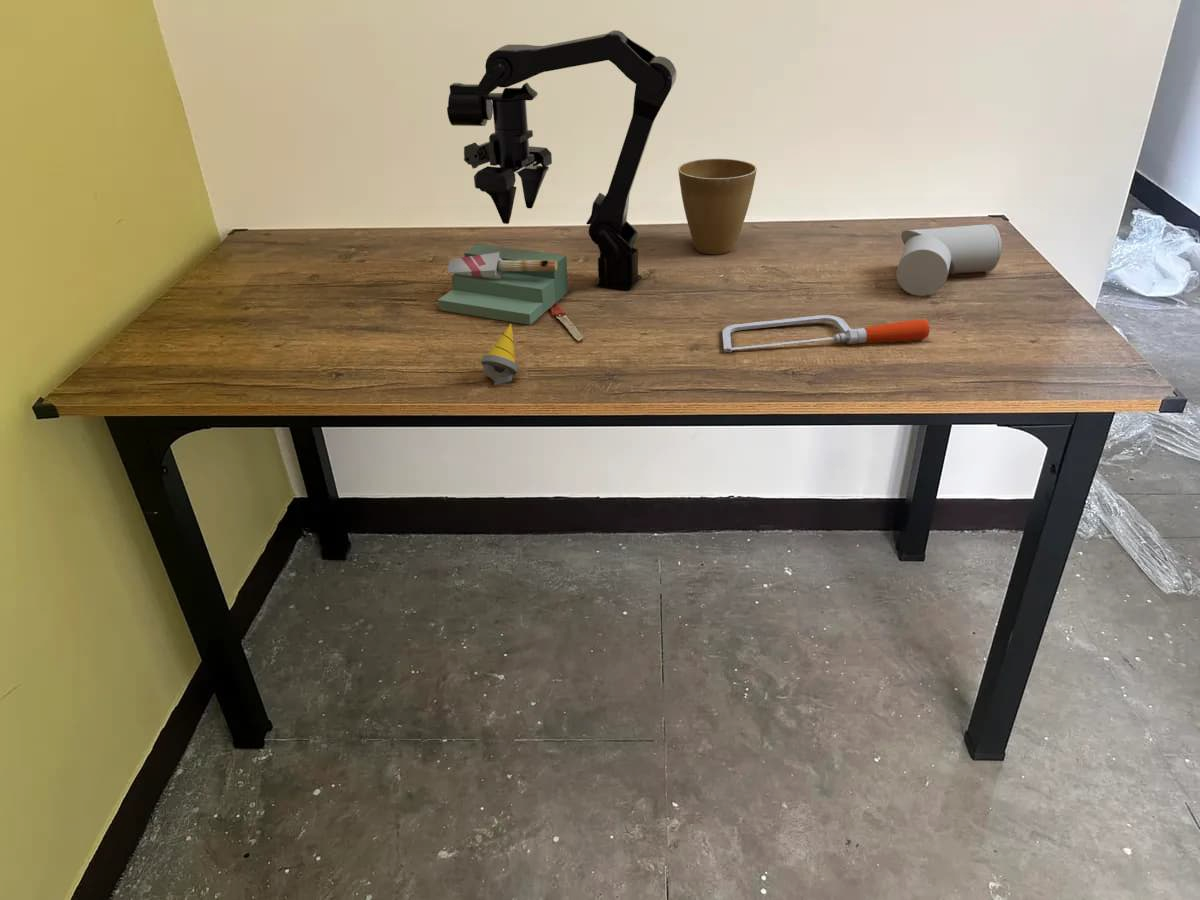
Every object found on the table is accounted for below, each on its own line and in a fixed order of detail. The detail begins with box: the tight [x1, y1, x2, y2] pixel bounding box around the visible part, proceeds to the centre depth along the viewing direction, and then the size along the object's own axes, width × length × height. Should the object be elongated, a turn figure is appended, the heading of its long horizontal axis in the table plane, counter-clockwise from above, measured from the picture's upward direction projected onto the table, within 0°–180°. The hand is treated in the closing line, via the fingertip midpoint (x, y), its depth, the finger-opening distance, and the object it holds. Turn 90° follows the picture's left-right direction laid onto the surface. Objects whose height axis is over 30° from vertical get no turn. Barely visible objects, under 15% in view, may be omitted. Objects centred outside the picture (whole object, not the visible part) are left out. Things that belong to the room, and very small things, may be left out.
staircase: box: [437, 243, 569, 326], centre depth 157 cm, size 18×15×7 cm
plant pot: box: [677, 158, 758, 255], centre depth 174 cm, size 15×15×16 cm
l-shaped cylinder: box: [895, 223, 1002, 297], centre depth 160 cm, size 18×10×20 cm
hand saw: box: [721, 314, 930, 353], centre depth 143 cm, size 33×3×10 cm
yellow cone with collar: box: [480, 323, 519, 386], centre depth 133 cm, size 5×5×10 cm
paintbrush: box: [446, 252, 558, 280], centre depth 155 cm, size 4×3×20 cm
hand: (517, 215), depth 161 cm, fingers open, 9 cm apart
